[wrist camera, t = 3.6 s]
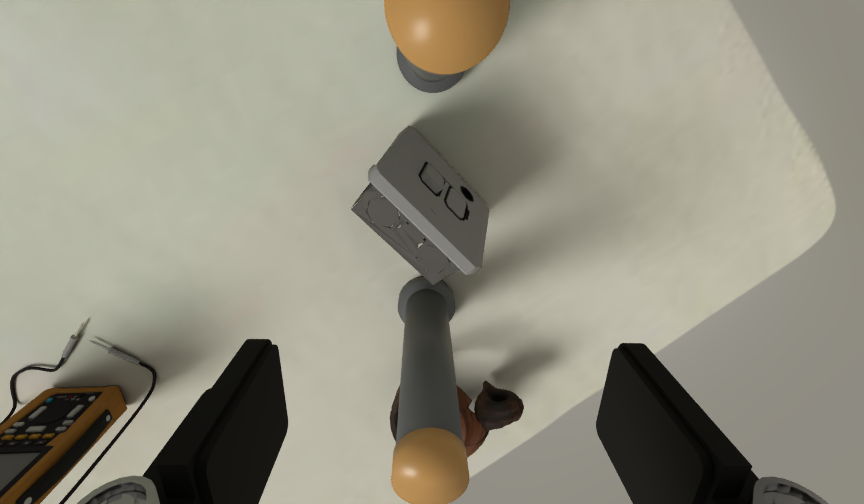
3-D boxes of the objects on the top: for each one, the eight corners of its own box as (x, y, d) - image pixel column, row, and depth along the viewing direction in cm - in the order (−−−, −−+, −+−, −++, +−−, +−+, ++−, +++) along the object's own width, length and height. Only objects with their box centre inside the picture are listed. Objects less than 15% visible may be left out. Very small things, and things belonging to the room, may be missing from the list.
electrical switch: (490, 207, 33) (502, 256, 25) (444, 245, 35) (441, 304, 27) (409, 121, 31) (393, 144, 22) (365, 168, 32) (333, 205, 24)
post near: (397, 14, 28) (361, -103, 11) (469, 16, 28) (539, -96, 11) (397, 91, 30) (367, 91, 13) (465, 93, 30) (520, 95, 13)
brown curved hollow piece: (434, 441, 43) (398, 485, 36) (408, 356, 44) (367, 382, 37) (542, 424, 39) (528, 471, 31) (511, 330, 40) (489, 353, 32)
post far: (398, 275, 35) (377, 441, 19) (455, 276, 35) (485, 441, 19) (398, 324, 37) (379, 515, 20) (452, 325, 37) (477, 514, 21)
